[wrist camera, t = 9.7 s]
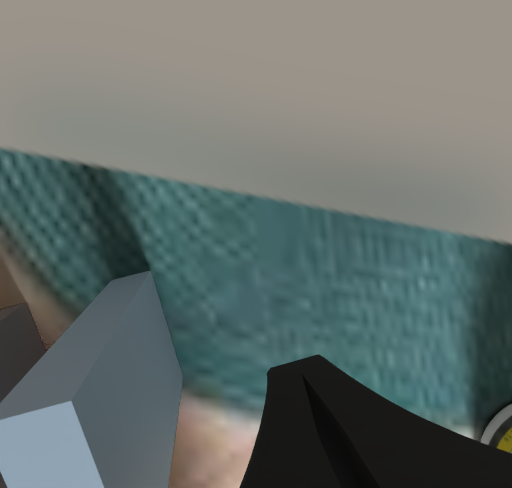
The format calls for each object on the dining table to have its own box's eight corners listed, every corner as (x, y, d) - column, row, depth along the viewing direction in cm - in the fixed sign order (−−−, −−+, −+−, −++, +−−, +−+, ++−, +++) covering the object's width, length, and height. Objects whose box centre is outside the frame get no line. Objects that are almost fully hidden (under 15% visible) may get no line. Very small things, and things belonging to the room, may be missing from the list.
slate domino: (183, 378, 17) (151, 611, 8) (146, 388, 17) (73, 635, 8) (150, 270, 16) (71, 401, 7) (111, 280, 15) (-20, 425, 7)
